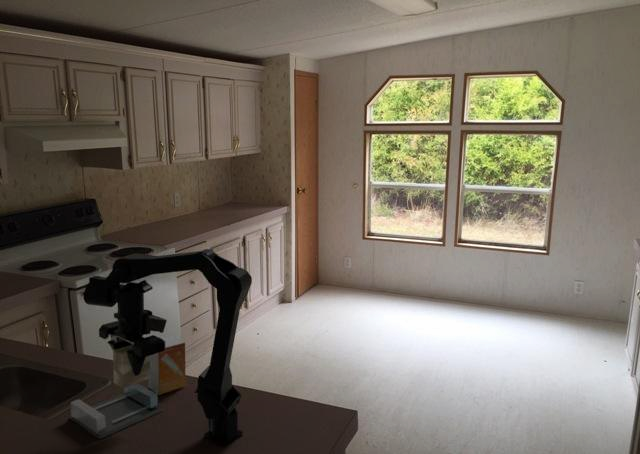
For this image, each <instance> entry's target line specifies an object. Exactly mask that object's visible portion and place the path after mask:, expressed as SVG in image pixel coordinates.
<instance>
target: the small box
mask: <svg viewBox="0 0 640 454" xmlns="http://www.w3.org/2000/svg"><path fill="white" fill-rule="evenodd" d="M162 339H163V340H164V341H165V351H162V352H159V353H156V354H153V355H150V378H149V379H148V389H149V390H151V391H153V392H155V393H156V394H157V396H158V395H159V396H161V395H163V394H166V393H169V392H173V391H175V390H178V389H182V388H185V387H186V341H183V340H181V339H180V338H178V337H177V336H175V335H174V336H171V337H167V338H162Z"/></svg>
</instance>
